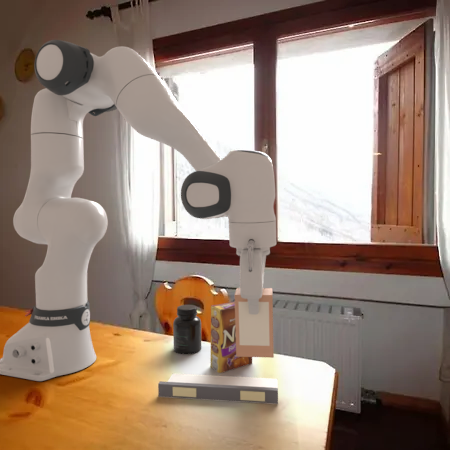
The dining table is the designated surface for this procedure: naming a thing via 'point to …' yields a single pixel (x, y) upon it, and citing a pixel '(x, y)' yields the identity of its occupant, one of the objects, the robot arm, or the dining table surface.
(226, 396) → the shelf board
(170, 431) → the dining table surface
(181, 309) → the supplement bottle
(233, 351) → the candy box
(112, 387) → the dining table surface
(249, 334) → the carton
